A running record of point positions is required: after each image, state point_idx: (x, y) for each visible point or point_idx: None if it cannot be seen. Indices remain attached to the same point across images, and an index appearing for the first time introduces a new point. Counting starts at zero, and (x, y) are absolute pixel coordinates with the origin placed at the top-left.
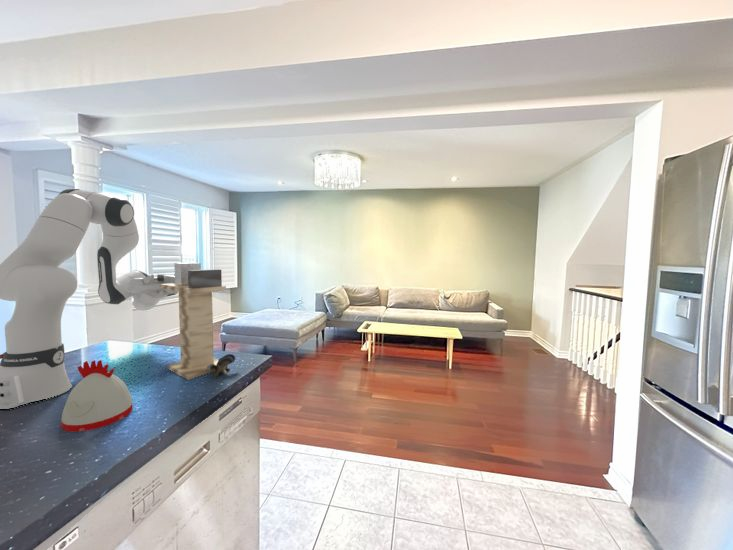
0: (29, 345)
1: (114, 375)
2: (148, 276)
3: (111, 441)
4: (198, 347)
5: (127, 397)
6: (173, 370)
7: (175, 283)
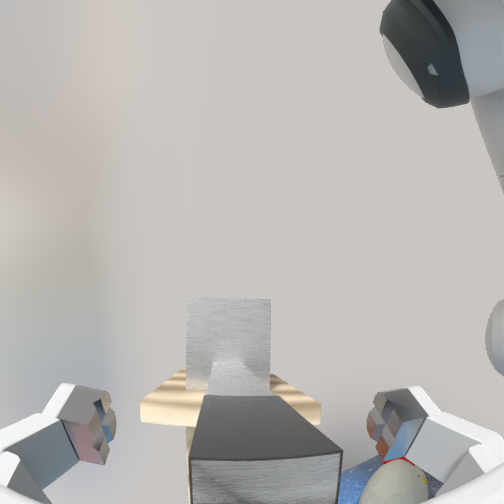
0: None
1: (382, 469)
2: (429, 408)
3: (366, 479)
4: None
5: (363, 490)
6: None
7: (268, 385)
